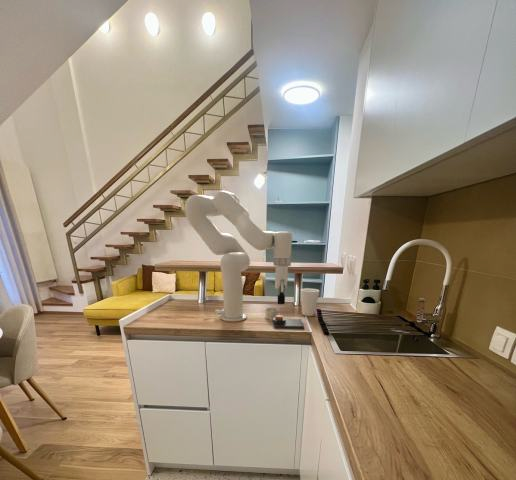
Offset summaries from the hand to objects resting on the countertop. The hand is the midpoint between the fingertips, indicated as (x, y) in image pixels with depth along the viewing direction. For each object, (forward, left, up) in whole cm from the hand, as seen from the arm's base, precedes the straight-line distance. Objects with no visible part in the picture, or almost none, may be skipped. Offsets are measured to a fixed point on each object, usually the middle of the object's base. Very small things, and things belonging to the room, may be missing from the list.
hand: (281, 303), depth 128 cm
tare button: (0, 0, -8) cm, 8 cm away
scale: (+4, 0, -10) cm, 11 cm away
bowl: (-4, +11, -10) cm, 15 cm away
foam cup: (+16, +19, -11) cm, 27 cm away
